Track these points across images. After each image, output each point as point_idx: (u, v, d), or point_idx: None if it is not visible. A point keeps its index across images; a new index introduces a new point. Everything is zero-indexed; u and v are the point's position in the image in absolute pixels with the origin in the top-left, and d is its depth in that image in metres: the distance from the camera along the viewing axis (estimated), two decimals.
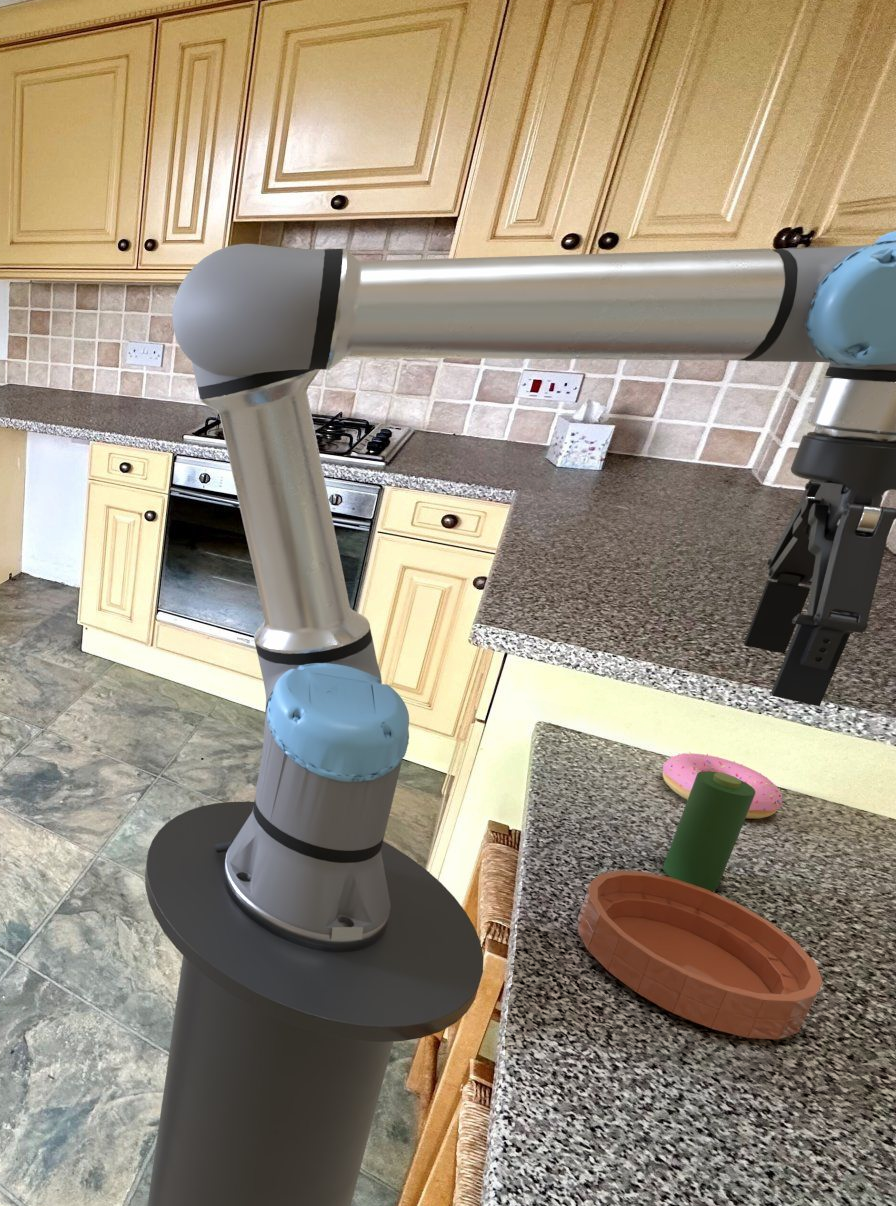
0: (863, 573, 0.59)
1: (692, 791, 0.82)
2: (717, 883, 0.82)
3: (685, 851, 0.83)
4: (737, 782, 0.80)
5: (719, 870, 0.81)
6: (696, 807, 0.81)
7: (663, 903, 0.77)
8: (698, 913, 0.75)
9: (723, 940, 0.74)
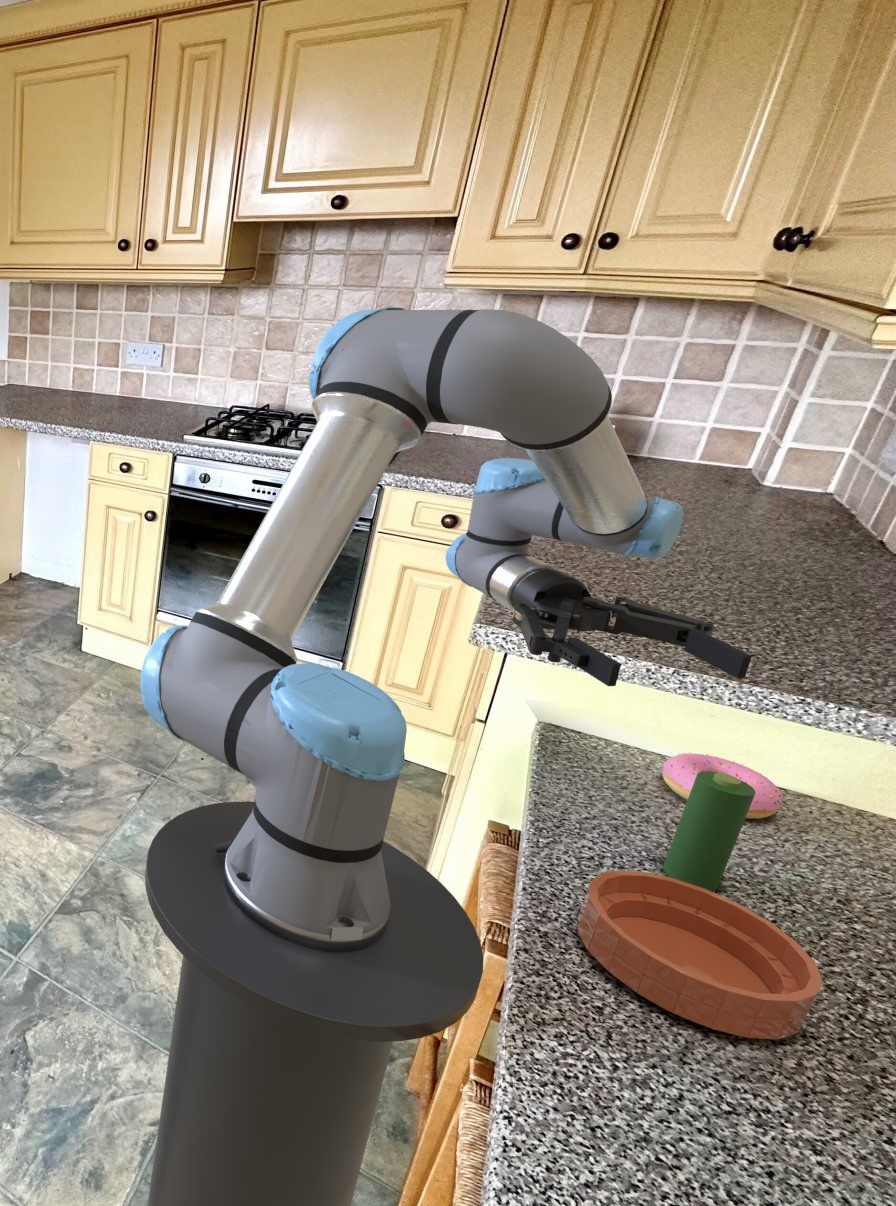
0: None
1: (692, 791, 0.82)
2: (717, 883, 0.82)
3: (685, 851, 0.83)
4: (737, 782, 0.80)
5: (719, 870, 0.81)
6: (696, 807, 0.81)
7: (663, 903, 0.77)
8: (698, 913, 0.75)
9: (723, 940, 0.74)
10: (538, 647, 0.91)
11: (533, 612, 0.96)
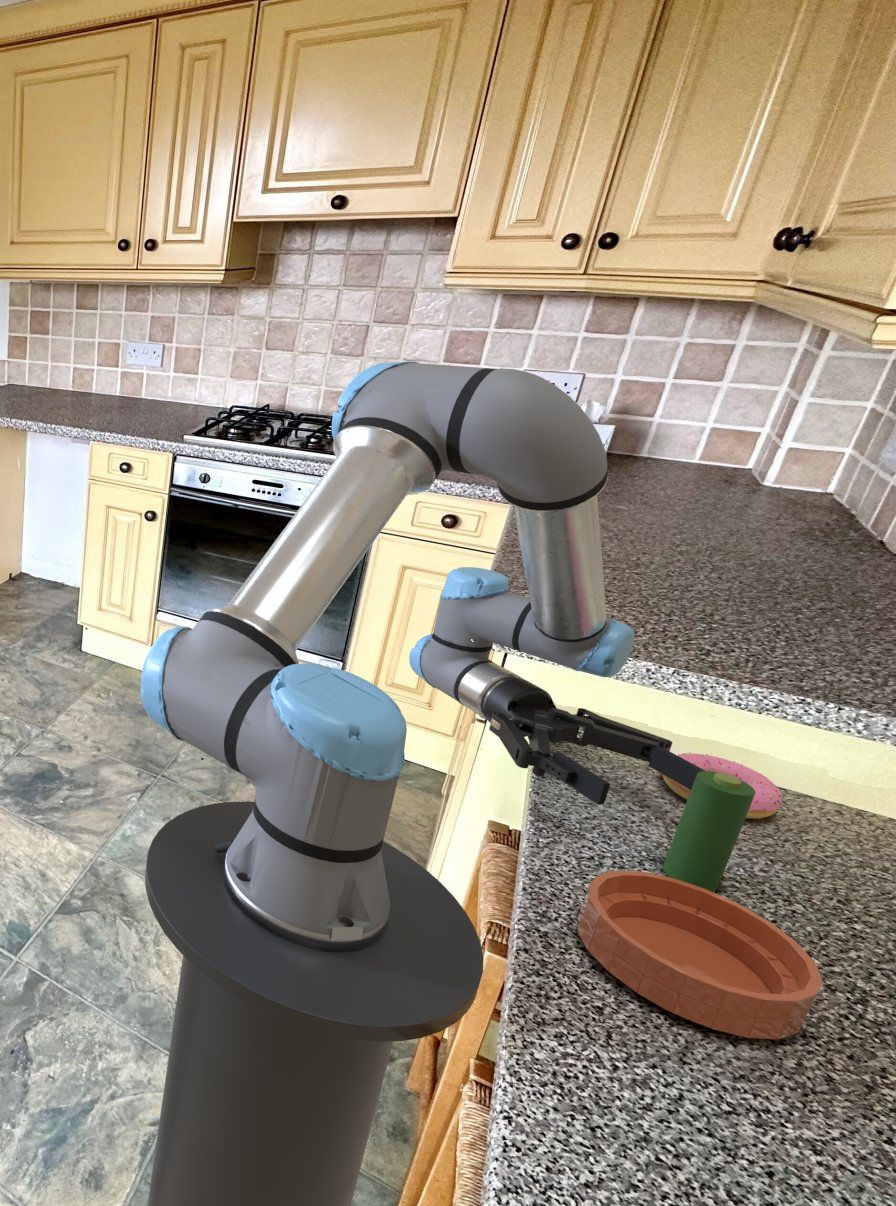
0: None
1: (692, 791, 0.82)
2: (717, 883, 0.82)
3: (685, 851, 0.83)
4: (737, 782, 0.80)
5: (719, 870, 0.81)
6: (696, 807, 0.81)
7: (663, 903, 0.77)
8: (698, 913, 0.75)
9: (723, 940, 0.74)
10: (525, 761, 0.93)
11: (512, 723, 0.99)
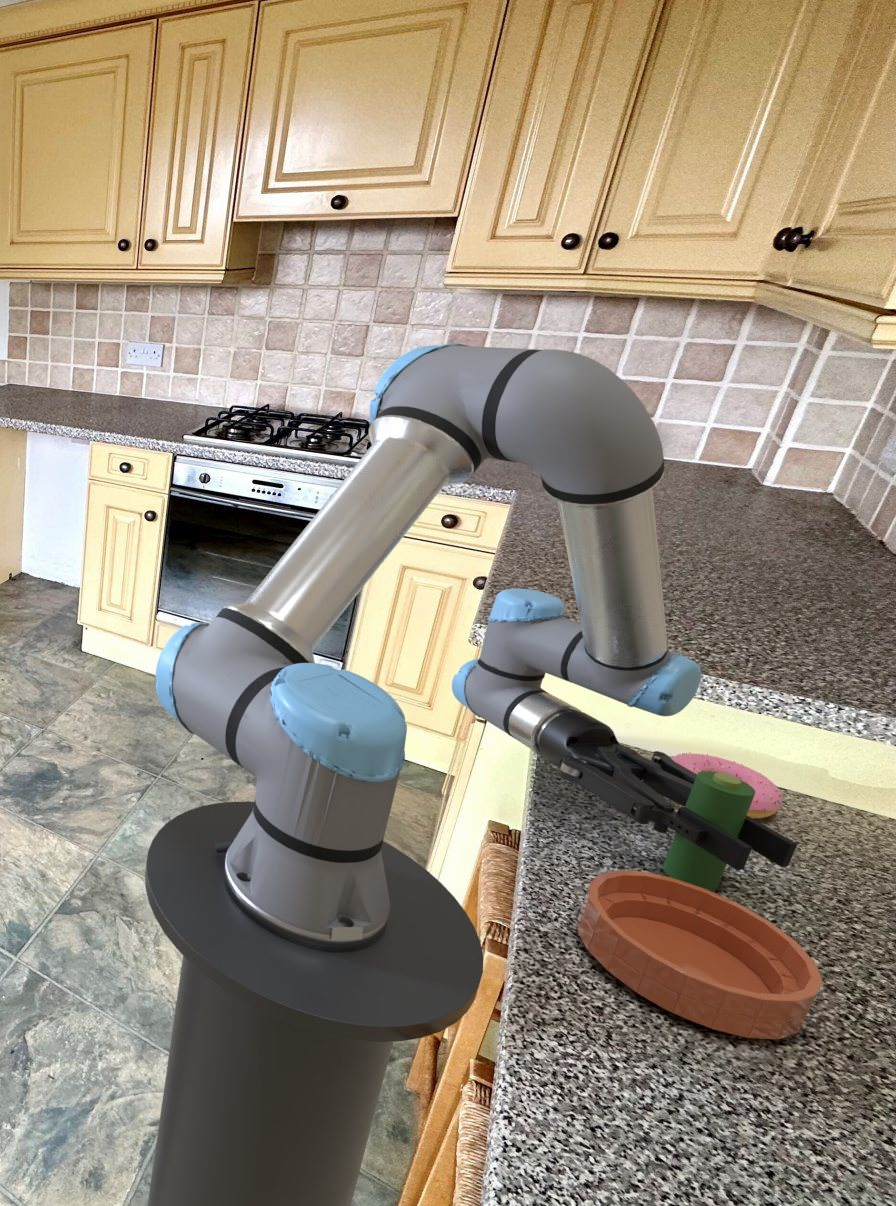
0: None
1: (692, 791, 0.82)
2: (717, 883, 0.82)
3: (685, 851, 0.83)
4: (737, 782, 0.80)
5: (719, 870, 0.81)
6: (696, 807, 0.81)
7: (663, 903, 0.77)
8: (698, 913, 0.75)
9: (723, 940, 0.74)
10: (648, 816, 0.84)
11: (593, 767, 0.90)
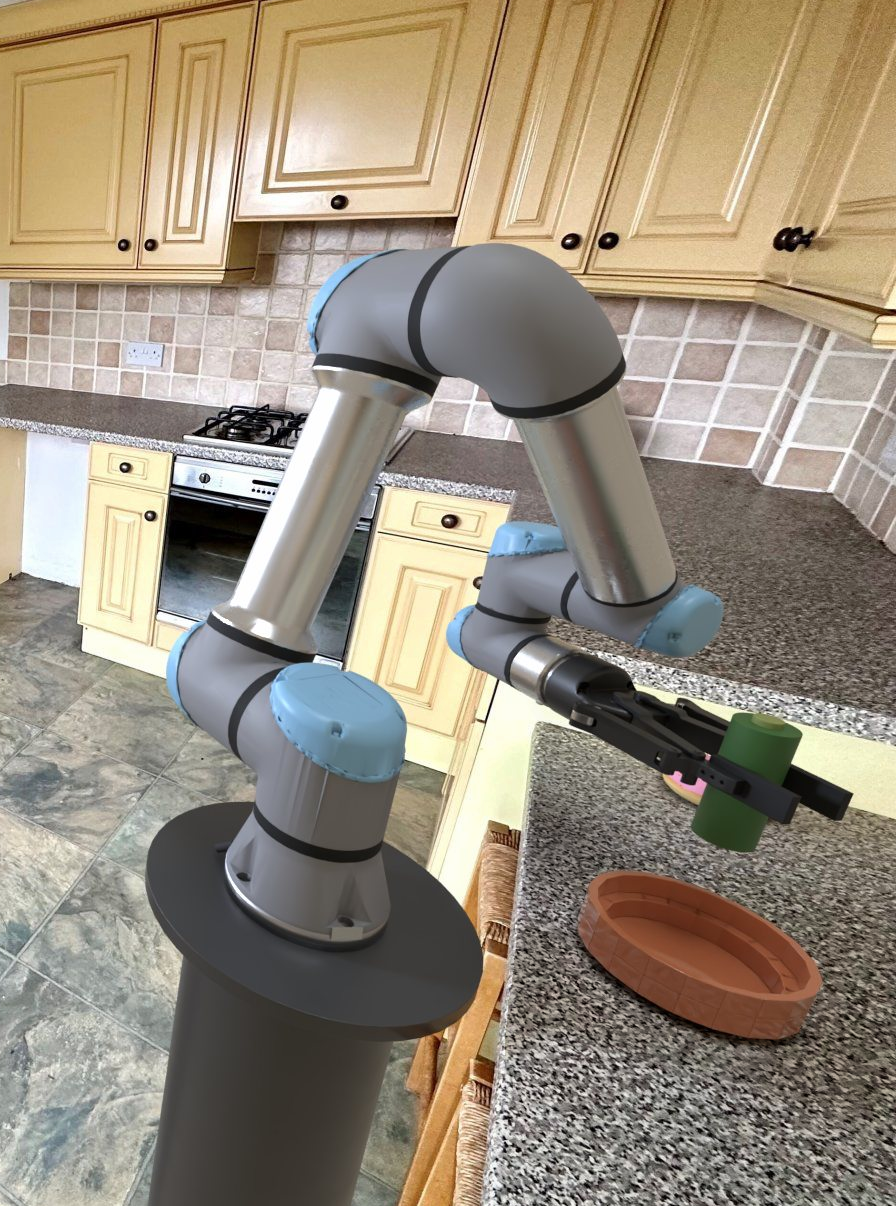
0: None
1: (727, 735, 0.70)
2: (756, 843, 0.70)
3: (719, 806, 0.71)
4: (781, 723, 0.68)
5: (759, 828, 0.70)
6: (732, 754, 0.70)
7: (663, 903, 0.77)
8: (698, 913, 0.75)
9: (723, 940, 0.74)
10: (675, 765, 0.72)
11: (609, 714, 0.78)
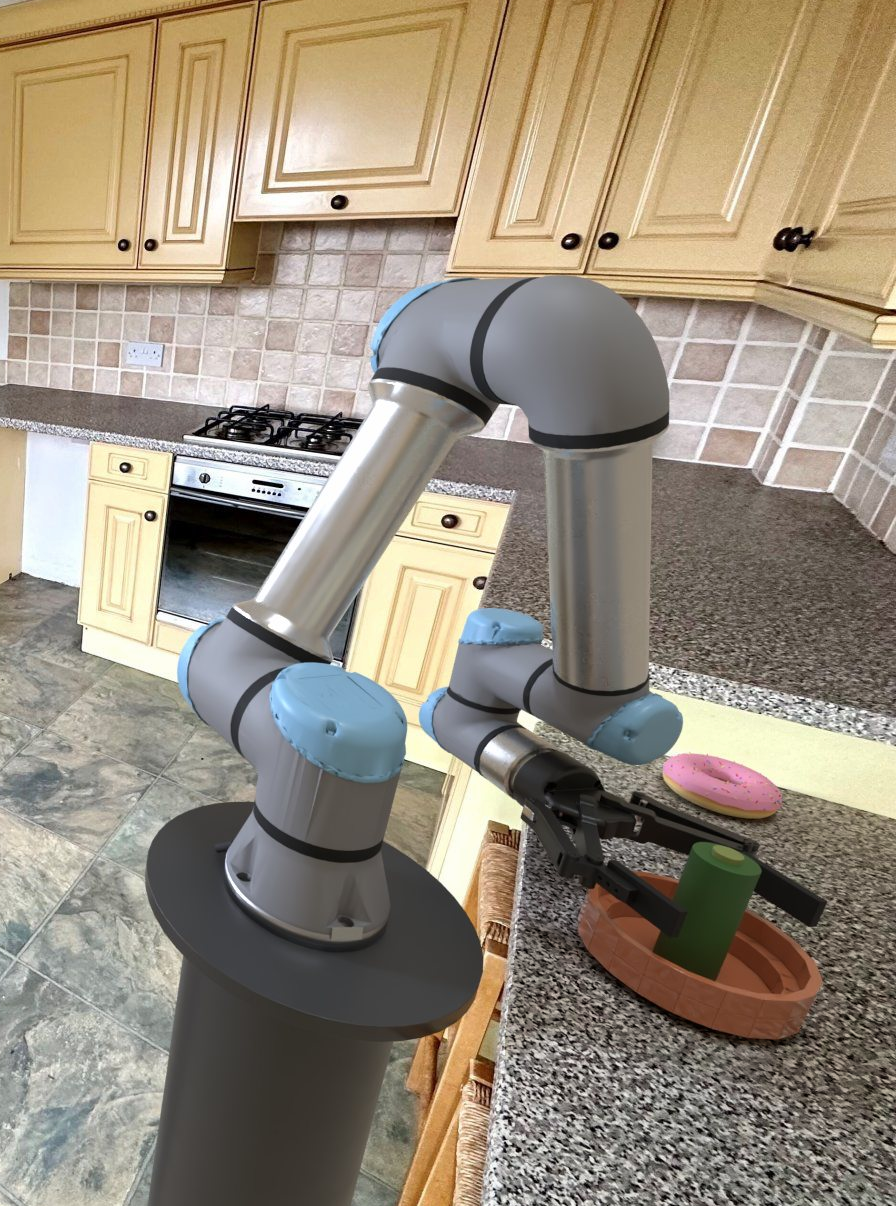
0: None
1: (686, 866, 0.70)
2: (716, 975, 0.70)
3: (679, 936, 0.70)
4: (740, 858, 0.67)
5: (719, 960, 0.69)
6: (692, 886, 0.69)
7: None
8: None
9: None
10: (571, 869, 0.72)
11: (551, 813, 0.78)
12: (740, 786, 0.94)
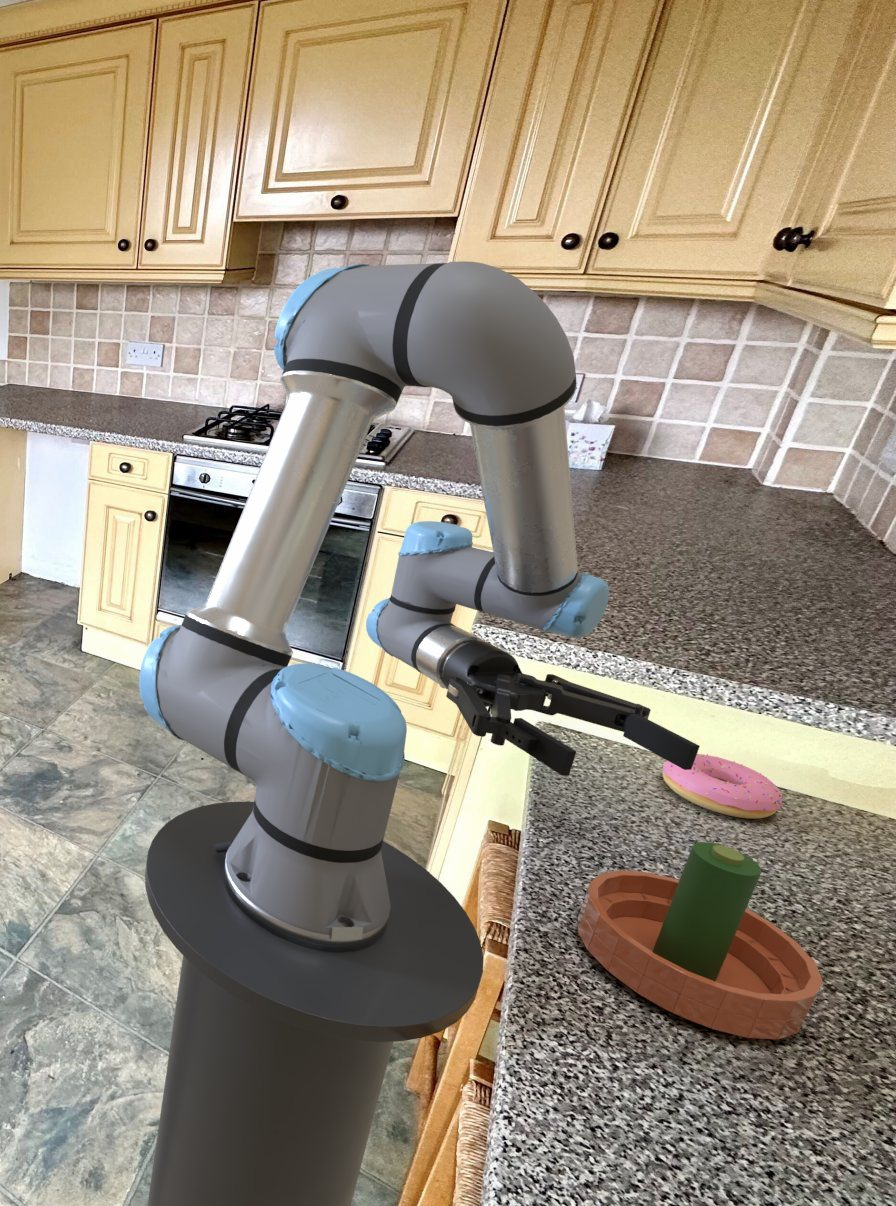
0: None
1: (686, 866, 0.70)
2: (716, 975, 0.70)
3: (679, 936, 0.70)
4: (740, 858, 0.67)
5: (719, 960, 0.69)
6: (692, 886, 0.69)
7: (663, 903, 0.77)
8: None
9: None
10: (482, 728, 0.82)
11: (471, 688, 0.88)
12: (740, 786, 0.94)
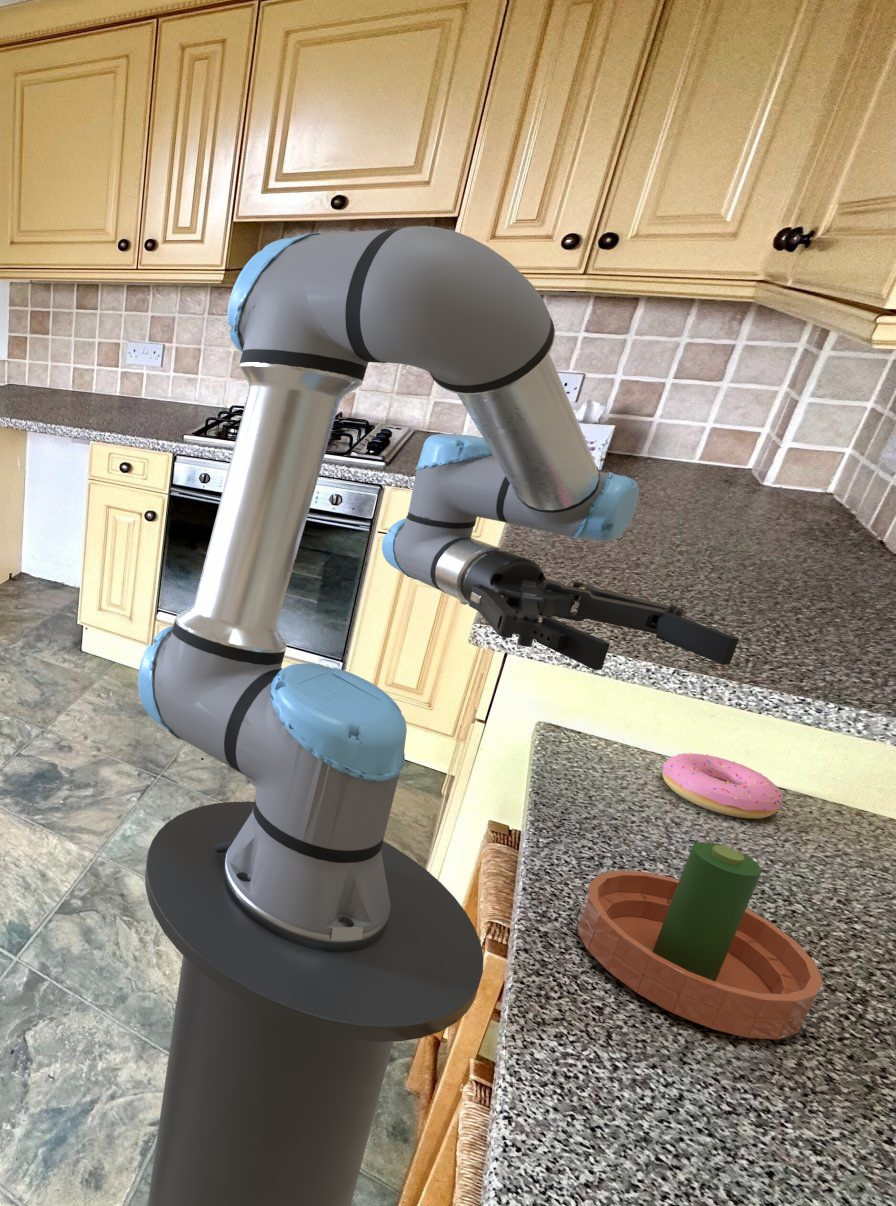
0: None
1: (686, 866, 0.70)
2: (716, 975, 0.70)
3: (679, 936, 0.70)
4: (740, 858, 0.67)
5: (719, 960, 0.69)
6: (692, 886, 0.69)
7: (663, 903, 0.77)
8: None
9: None
10: (509, 628, 0.79)
11: (495, 593, 0.84)
12: (740, 786, 0.94)
